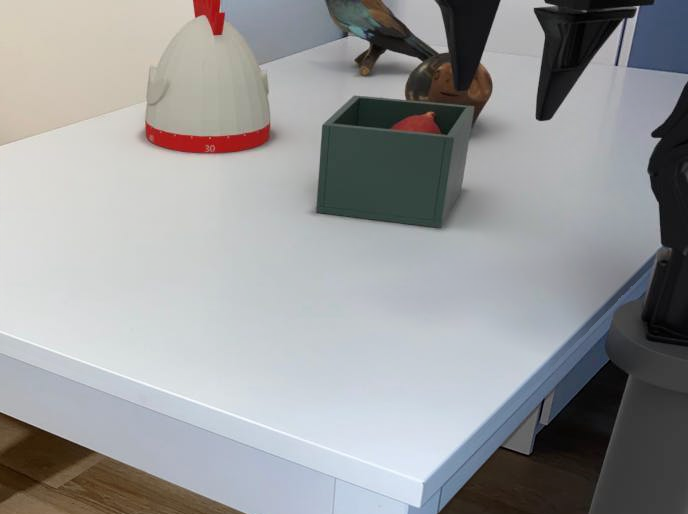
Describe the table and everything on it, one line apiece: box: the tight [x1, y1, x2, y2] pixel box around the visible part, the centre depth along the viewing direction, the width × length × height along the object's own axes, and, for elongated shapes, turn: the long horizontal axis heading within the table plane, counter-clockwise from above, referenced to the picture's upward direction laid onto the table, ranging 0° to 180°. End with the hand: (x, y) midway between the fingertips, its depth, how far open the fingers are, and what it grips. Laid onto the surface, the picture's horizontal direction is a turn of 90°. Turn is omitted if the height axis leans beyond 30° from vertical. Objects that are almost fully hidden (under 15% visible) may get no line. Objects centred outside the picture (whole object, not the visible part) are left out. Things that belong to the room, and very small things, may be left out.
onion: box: [390, 112, 441, 134], centre depth 92 cm, size 6×6×8 cm
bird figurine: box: [324, 0, 440, 77], centre depth 134 cm, size 13×10×20 cm
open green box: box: [315, 94, 474, 229], centre depth 91 cm, size 11×11×8 cm
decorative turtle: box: [404, 51, 494, 130], centre depth 112 cm, size 10×15×8 cm, turn 174°
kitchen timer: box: [144, 0, 271, 154], centre depth 106 cm, size 14×14×15 cm
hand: (500, 104), depth 70 cm, fingers open, 9 cm apart
